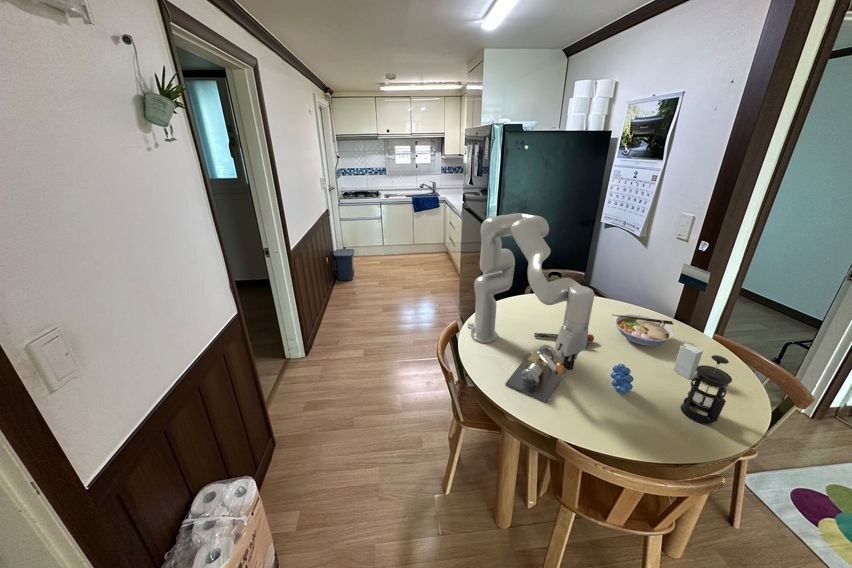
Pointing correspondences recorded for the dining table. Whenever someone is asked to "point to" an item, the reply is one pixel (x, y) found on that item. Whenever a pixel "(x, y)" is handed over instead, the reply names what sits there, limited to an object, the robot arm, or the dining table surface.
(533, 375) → the valve body
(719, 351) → the dining table surface
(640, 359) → the dining table surface
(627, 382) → the grapes
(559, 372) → the lever
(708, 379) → the french press
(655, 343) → the ramen bowl
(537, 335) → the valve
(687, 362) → the skincare box
